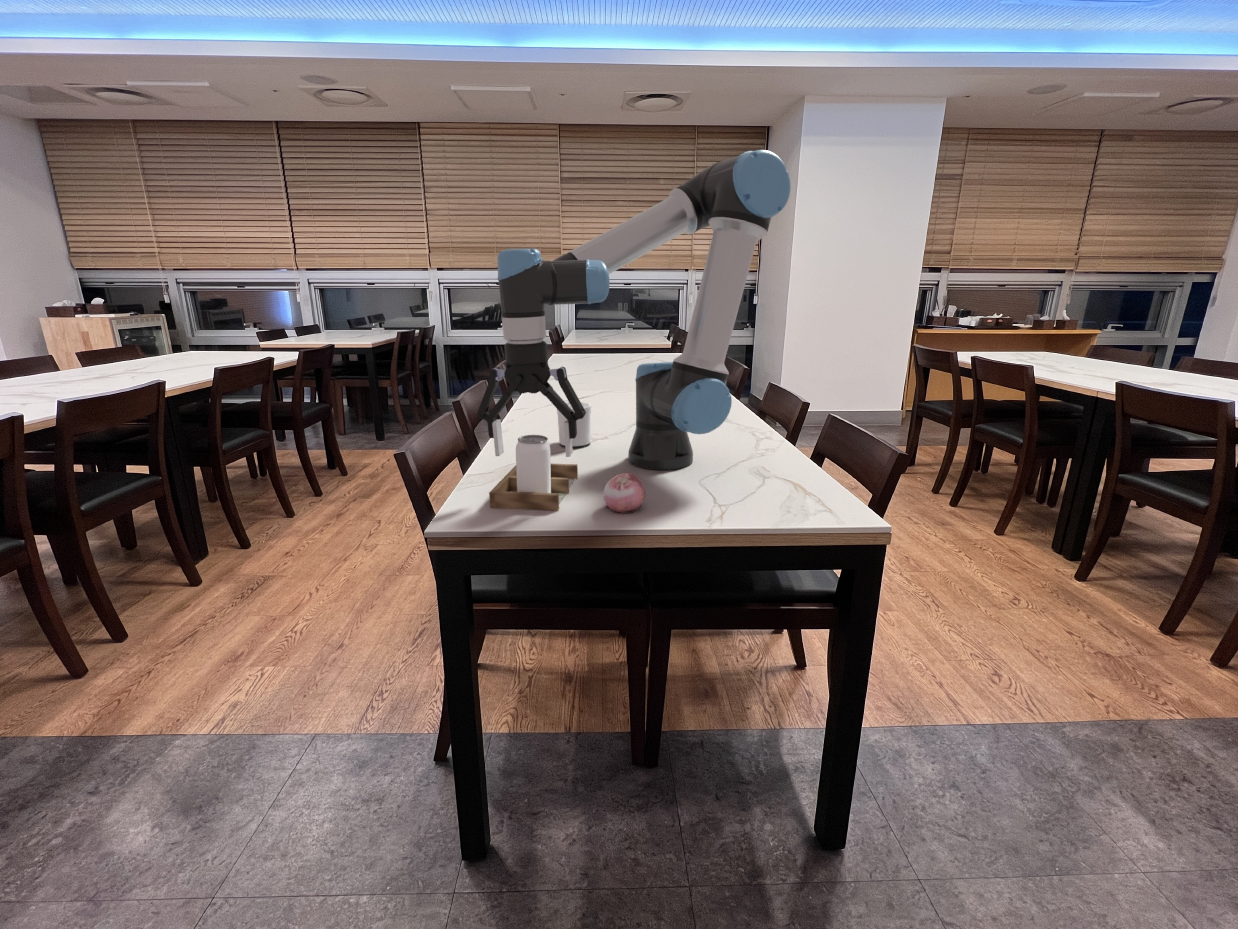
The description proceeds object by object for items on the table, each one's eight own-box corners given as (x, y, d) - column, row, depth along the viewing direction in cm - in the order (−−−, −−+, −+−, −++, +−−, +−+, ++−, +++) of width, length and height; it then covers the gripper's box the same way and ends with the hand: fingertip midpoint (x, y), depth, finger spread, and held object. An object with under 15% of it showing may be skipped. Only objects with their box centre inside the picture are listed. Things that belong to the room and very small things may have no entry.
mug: (591, 448, 148) (590, 408, 145) (555, 448, 148) (554, 408, 145) (593, 437, 158) (592, 400, 155) (560, 437, 158) (559, 400, 155)
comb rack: (577, 477, 126) (577, 464, 125) (558, 510, 108) (557, 495, 107) (519, 475, 128) (518, 462, 127) (490, 507, 110) (489, 492, 109)
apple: (619, 523, 105) (605, 488, 102) (603, 512, 112) (590, 479, 109) (656, 503, 107) (644, 469, 105) (638, 494, 114) (626, 461, 112)
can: (544, 506, 110) (543, 445, 106) (512, 502, 111) (509, 442, 107) (555, 494, 116) (554, 435, 112) (524, 490, 117) (523, 432, 113)
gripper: (597, 337, 106) (602, 449, 113) (466, 339, 110) (478, 448, 116) (590, 342, 99) (595, 461, 106) (450, 344, 103) (463, 459, 109)
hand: (534, 454), depth 111 cm, fingers open, 13 cm apart
